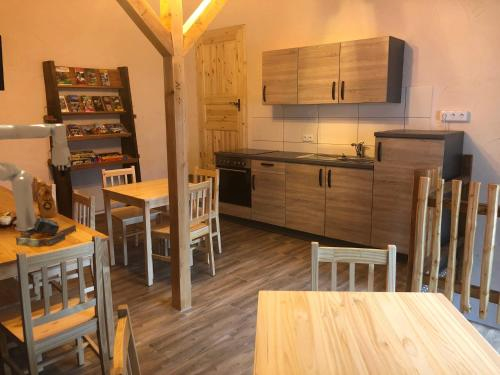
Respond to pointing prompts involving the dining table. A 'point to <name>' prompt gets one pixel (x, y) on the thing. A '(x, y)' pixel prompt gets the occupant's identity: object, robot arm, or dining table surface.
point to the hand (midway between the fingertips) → (63, 176)
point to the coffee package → (46, 202)
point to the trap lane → (26, 238)
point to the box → (46, 226)
